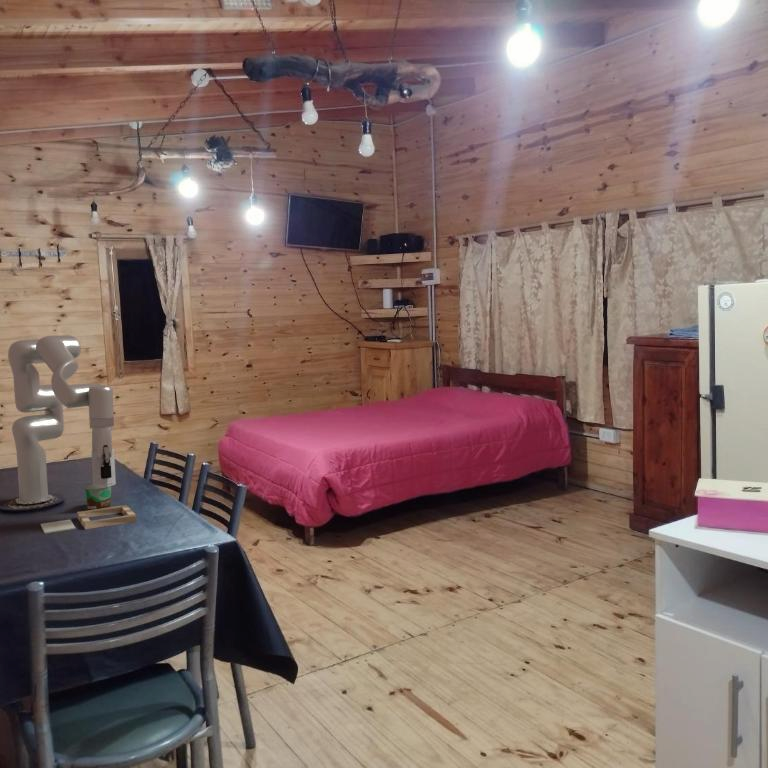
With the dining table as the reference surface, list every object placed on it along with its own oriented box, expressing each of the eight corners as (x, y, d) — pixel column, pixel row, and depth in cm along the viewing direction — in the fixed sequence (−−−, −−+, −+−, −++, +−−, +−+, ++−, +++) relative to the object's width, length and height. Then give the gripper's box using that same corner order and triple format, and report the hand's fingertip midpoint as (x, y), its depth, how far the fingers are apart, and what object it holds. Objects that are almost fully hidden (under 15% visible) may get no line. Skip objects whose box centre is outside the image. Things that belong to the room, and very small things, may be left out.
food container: (101, 512, 249) (99, 484, 248) (85, 512, 251) (83, 483, 250) (121, 503, 261) (119, 476, 260) (105, 502, 263) (104, 475, 262)
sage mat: (40, 525, 235) (40, 523, 235) (70, 520, 240) (70, 519, 240) (44, 533, 226) (44, 532, 226) (75, 528, 230) (75, 527, 230)
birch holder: (77, 517, 243) (77, 512, 243) (126, 510, 251) (126, 505, 251) (85, 529, 230) (84, 523, 229) (137, 521, 238) (136, 515, 238)
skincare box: (116, 484, 241) (114, 449, 239) (107, 487, 237) (106, 451, 235) (101, 483, 243) (99, 448, 241) (92, 486, 239) (90, 450, 237)
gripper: (85, 420, 243) (87, 472, 245) (94, 427, 228) (96, 482, 230) (108, 418, 247) (110, 469, 249) (119, 425, 232) (121, 479, 234)
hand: (103, 475), depth 239 cm, fingers closed on skincare box, 7 cm apart
